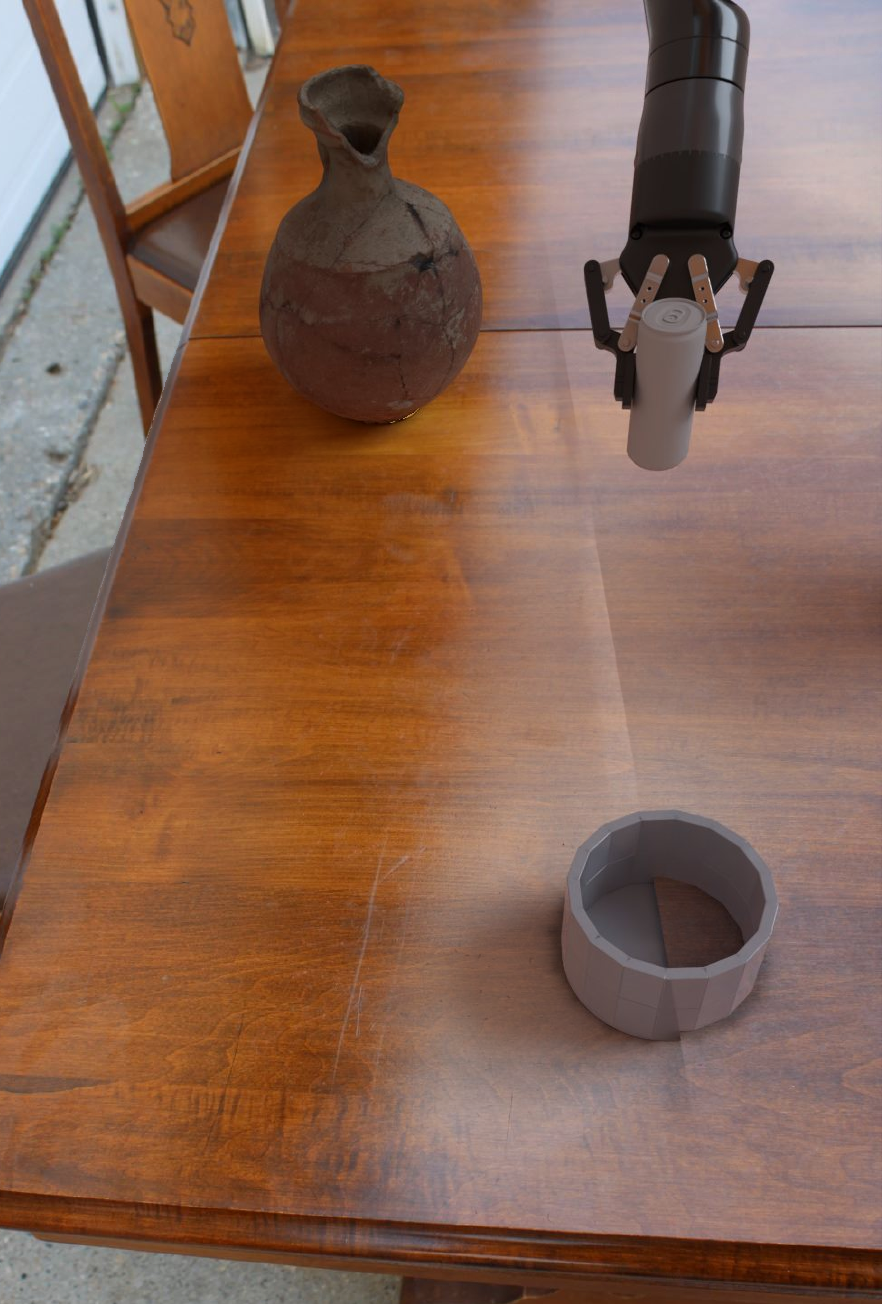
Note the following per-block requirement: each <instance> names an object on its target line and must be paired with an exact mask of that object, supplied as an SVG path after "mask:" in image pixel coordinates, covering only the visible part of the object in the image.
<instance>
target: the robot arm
mask: <svg viewBox="0 0 882 1304" xmlns="http://www.w3.org/2000/svg"><path fill="white" fill-rule="evenodd" d="M642 3H643V9H644V16H645V17H644V19H645V22H646V23H645V25H646V31H647V36H648V37H647V38H648V54H647V55H648V56H647V64H646V75H645V87H644V94H643V95H644V97H643V106H642V111H641V117H640V121H639V125H638V129H637V130H638V131H637V137H636V147H635V156H634V159H633V167H634V168H633V179H632V190H631V199H630V210H629V211H630V212H629V220H628V221H629V223H628V233H627V241H626V244H625V246H624V248H623V249H622V251H621V253H620V255H619V257H617V258H613V259H609V260H605V261H602V262H599V261H598V260H596V259H589V260H587V261H586V262H585V264H584V266H583V280H584V281H583V282H584V287H585V293H586V299H587V303H588V304H587V305H588V312H589V317H590V324H591V330H592V335H593V342H594V343H593V344H594V346H595V348H596V349H598V350H599V351H607V352H609V353H611V354H612V355H613V356H614V357H615V360H616V363H615V372H614V383H613V397H614V400H615V402H621V410H625V411H626V410H629V411H630V410H631V403H632V392H633V382H634V371H635V360H636V348H637V338H638V327H639V321H640V319H641V316H642V311H643V310H644V308H645V307H646V306H648V305H649V304H650V303H652V302H654V301H657V300H661V299H666V298H683V299H689V300H692V301H695V302H697V303H698V304H700V305H701V306H702V307H703V308H704V309H705V311H706V313H707V314H706V321H707V331H706V337H705V344H704V351H703V357H702V362H701V367H700V374H699V381H698V388H697V394H696V402H695V408H694V412H702V413H703V412H705V411H706V409H707V405H708V404H713V402H714V400H715V399H716V397H717V394H718V391H719V390H718V389H719V380H720V371H721V360H722V358H723V357H725V356H726V355H729V354H731V353H738V352H739V353H740V352H742V351H744V349H745V348H746V346H747V344H748V342H749V339H750V338H751V335H752V333H753V329H754V326H755V324H756V321H757V317H758V316H759V313H760V310H761V307H762V304H763V301H764V299H765V296H766V293H767V291H768V288H769V286H770V283H771V280H772V277H773V275H774V272H775V269H776V268H775V263H774V262H773V261H772V260H770V259H763V260H761V261H760V262H758V261H754V260H750V259H746V258H742V257H739V251H738V249H737V248H736V244H735V240H734V235H735V228H736V227H735V226H736V216H737V206H738V197H739V196H738V195H739V187H740V186H739V185H740V178H741V169H742V168H741V167H742V166H741V165H742V162H743V150H744V149H743V148H744V139H745V94H746V93H745V92H746V84H747V83H746V82H747V73H748V63H749V55H750V43H751V23H750V20H749V16H748V14H747V13H746V11H745V10H744V9H743V8H742V7H741V6H740V5H739V4H738V3H736V2H735V1H734V0H642ZM620 275H621V277H622V278H623V281H624V282H625V283H626V285H627V286H628V288H629V290H630V291H631V293H632V295H633V296H634V298H635V300H634V302H633V305H632V307H631V309H630V311H629V315H628V318H627V320H626V323H625V324H624V327H623V328H622V331H621V332H619V331H616V330H615V329H612V328H611V324H610V318H609V313H608V305H607V300H606V295H608V294H610V293H611V292H612V290H613V288H614V281H615V279H616V278H617V277H618V276H620ZM733 275H735V276H736V277H737V279H738V291H739V292H740V294H742V295H744V296H745V298H744V301H743V304H742V307H741V310H740V312H739V315H738V317H737V320H736V323H735V326H734V329H733V330H730V331H727V332H724V333H722V329H721V325H720V322H719V315H718V314H719V313H718V309H717V304H716V300H715V297H716V296H717V294H718V293H719V291H721V289H722V288H723V287H724V286H725V285H726V283H727V282H728V281H729V280H730V279H731V277H732V276H733Z"/></svg>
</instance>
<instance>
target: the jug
mask: <svg viewBox="0 0 882 1304" xmlns="http://www.w3.org/2000/svg"><path fill="white" fill-rule="evenodd" d="M405 99H406V97H405V92H404V91H403V89H402V87H401V86H400V85H399V84H398V83H396V82H394V81H391V80H389V79H387V78H385V77H383V76H382V75H381V74H380V73H379V72H378V71H377V70H376V69H375V68H374V67H373V66H371V65H370V64H364V63H354V64H352V63H351V64H345V65H340V66H335V67H332V68H329V69H325V70H323V71H320V72H318V73H316V74H314V75H313V76H310V77H309V78H308V79H307V80H305V81H304V82H303V83H302V85H301V86H300V88H299V90H298V91H297V93H296V101H297V104H298V115H299V118H300V121H302V123H303V125H304V126H305V127H306V128H307V129H309V130H311V131H312V132H313V134H314V137H315V138H316V146H317V151H318V154H319V157H320V162H321V164H322V168H323V170H322V178H321V180H320V182H319V184H318V186H317V187H316V188H315V189H314V190H312V192H310V193H309V194H307V195H306V196H304V197H303V198H301V199H300V200H299V201H298V202H296V203H295V205H293V206H292V207H291V208H290V209H289V210H288V211H287V212H286V213H285V215H283V217H282V219H281V221H280V223H279V225H278V226H277V229H276V233H275V236H274V239H273V241H272V243H271V246H270V249H269V251H268V255H267V257H266V261H265V265H264V270H263V274H262V279H261V285H260V291H259V300H258V301H259V302H258V318H259V319H258V320H259V327H260V334H261V337H262V340H263V343H264V346H265V349H266V351H267V353H268V355H269V357H270V360H272V363H273V364H274V366H275V367H276V370H278V372H279V373H280V374H281V376H282V377H283V378H284V380H285V381H286V382H287V383H288V384H289V385H290V386H291V387H292V388H293V389H294V390H295V391H296V392H297V393H298V394H300V396H301V397H303V398H305V400H308V401H309V402H311V403H312V404H314V405H315V406H317V407H318V408H321V409H322V410H324V411H326V412H329V413H331V414H334V415H335V416H338V417H341V418H345V419H351V420H354V421H358V422H359V421H362V422H364V423H365V424H366V423H367V424H366V425H369V424H368V423H370V424H376V423H375V422H378V423H377V424H388V423H387V422H393V421H397V420H399V419H403V418H405V417H407V416H408V415H410V414H412V413H414V412H415V411H416V410H417V409H418V408H420V407H421V408H423V407H425V406H427V405H429V404H430V403H431V402H433V401H434V400H436V399H437V398H438V397H439V396H441V395H442V394H443V393H444V392H445V391H446V390H447V389H448V388H449V387H450V386H451V384H452V383H453V382H454V381H456V379H457V377H458V376H459V375H460V374H461V372H462V370H464V368H465V366H466V364H467V362H468V361H469V359H470V357H471V355H472V353H473V351H474V349H475V347H476V344H477V341H478V338H479V336H480V333H481V332H480V331H481V326H482V322H483V321H482V320H483V310H484V308H483V307H484V306H483V305H484V298H483V297H484V295H483V284H482V279H481V275H480V271H479V267H478V264H477V260H476V258H475V254H474V252H473V249H472V248H471V246H470V244H469V242H468V240H467V238H466V236H465V234H464V233H463V231H462V229H461V228H460V226H459V224H458V223H457V221H456V220H455V217H454V215H453V213H452V211H451V210H450V208H449V206H447V204H446V203H445V202H444V201H443V200H441V198H440V197H438V196H437V195H436V194H434V193H432V192H431V191H430V190H428V189H426V188H425V187H422V186H420V185H418V184H415V183H412V182H410V181H407V180H406V179H405V180H404V179H402V178H399V177H397V176H393V174H392V170H391V167H390V163H389V148H388V147H389V143H390V139H391V137H392V135H393V133H394V131H395V129H396V127H397V126H398V124H399V119H400V117H399V116H400V113H401V110H402V108H403V105H404V103H405ZM421 408H420V409H421ZM397 422H398V421H397Z"/></svg>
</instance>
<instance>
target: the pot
mask: <svg viewBox="0 0 882 1304" xmlns="http://www.w3.org/2000/svg"><path fill="white" fill-rule="evenodd" d="M654 878H667V879H670V880H672V881H673V880H674V881H678V882H681V883H684V884H688V885H691V886H696V888H698V889H700V890H701V891H702V892H704V893H706V894H707V895H709V896H710V897H712V898H713V899H714V900H716V901H718V902H719V903H720V904H722V905H723V906H724V908H725V909H726V910H727V912H728V913H729V915H730V916H731V917H732V919H733V920H734V921H735V923H736V924H737V926H738V927H739V928H740V931H741V935H742V936H741V937H742V940H743V946H742V947H741V948H740V949H739V950H738V951H737V952H736V953H734V954H732V955H730V956H727V957H725V958H722V959H719V960H718V961H715V962H712V963H711V964H708V965H705V966H697V967H695V966H694V967H690V966H689V967H669V961H668V955H667V950H666V943H665V939H664V932H663V926H662V921H661V920H662V919H661V914H660V909H659V902H658V897H657V891H656V886H655V885H656V883H655V879H654ZM774 881H775V880H774V877H773V873H772V871H771V868H770V867H769V865H768V864H767V863H766V861H765V860H764V859H763V858H762V856H761V855H760V854H759V853H758V851H757V850H756V849H755V848H754V846H753V845H752V843H751V842H750V841H749V840H748V839H746V838H744V837H743V836H741V835H739V834H738V833H736V832H735V831H733V830H732V829H730V828H729V827H728V826H726V825H725V824H722V823H721V822H719V821H718V820H716V819H713V818H710V817H705V816H702V815H699V814H694V813H691V812H688V811H683V810H679V809H659V810H638V811H634V812H632V813H629V814H627V815H624V816H622V817H618V818H617V819H613V820H611V821H610V822H606V823H604V824H602V825H601V826H600V827H599V828H598V829H597V830H596V831H595V832H594V833H592V834H591V835H590V836H589V837H588V838H587V839H586V840H585V841H584V842H583V843H582V844H581V845H580V846H579V847H578V848H577V849H576V852H575V856H574V858H573V859H572V862H571V865H570V867H569V871H568V873H567V874H566V882H565V893H564V904H563V914H562V924H561V935H560V943H561V959H562V965H563V970H564V973H565V977H566V979H567V982H568V984H569V985H570V987H571V989H572V991H573V993H574V994H575V996H576V997H577V999H578V1000H579V1001H580V1002H581V1003H582V1005H584V1006H585V1008H586V1009H587V1010H588V1011H589V1012H591V1014H593V1015H594V1016H595V1017H596V1018H598V1019H599V1020H600V1021H602V1022H603V1023H605V1024H607V1025H608V1026H610V1027H612V1028H613V1029H616V1030H617V1031H619V1032H622V1033H624V1034H628V1035H629V1036H633V1037H636V1038H640V1039H644V1040H651V1041H657V1042H658V1041H659V1042H661V1041H662V1042H676V1041H682V1038H681V1032H693V1031H696V1030H699V1029H701V1028H704V1027H706V1026H708V1025H710V1024H713V1023H715V1022H718V1021H720V1020H723V1019H725V1018H727V1017H729V1016H730V1015H731V1014H732V1013H733V1012H734V1011H735V1010H736V1009H737V1008H738V1006H739V1005H740V1004H741V1003H742V1002H743V1001H744V1000H746V998H747V997H748V995H750V993H751V992H752V991H753V989H754V986H755V983H756V980H757V977H758V974H759V971H760V969H761V966H762V962H763V961H764V957H765V954H766V951H767V948H768V945H769V942H770V940H771V937H772V933H773V931H774V930H773V929H774V926H775V922H776V919H777V915H778V910H779V907H780V902H779V898H778V894H777V893H778V892H777V889H776V886H775V882H774Z"/></svg>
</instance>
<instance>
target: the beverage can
mask: <svg viewBox="0 0 882 1304" xmlns="http://www.w3.org/2000/svg"><path fill="white" fill-rule="evenodd" d="M706 314H707V313H706V311H705V309H704V308H703V307H702V306H701V305H700V304H698V303H697V302H695V301H692V300H689V299H683V298H666V299H661V300H657V301H654V302H652V303H650V304H649V305H648V306H646V307H645V308H644V310H643V311H642V316H641V319H640V321H639V327H638V338H637V346H636V348H635V353H636V360H635V371H634V382H633V392H632V403H631V410H629V411H630V412H629V421H628V422H629V423H628V433H627V443H626V454H627V456H628V458H629V459H630V460H631V461H632V463H633V464H634V465H636V466H638V467H639V468H641V469H643V470H646V471H651V472H664V471H669V470H671V469H674V468H675V467H678V466H679V465H680V464H682V463H683V462H684V461H685V460H686V458H687V456H688V454H689V451H690V450H689V449H690V444H691V443H690V442H691V435H692V428H693V422H694V416H695V415H694V414H695V403H696V394H697V388H698V381H699V374H700V367H701V362H702V357H703V351H704V344H705V337H706V331H707V321H706Z"/></svg>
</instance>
